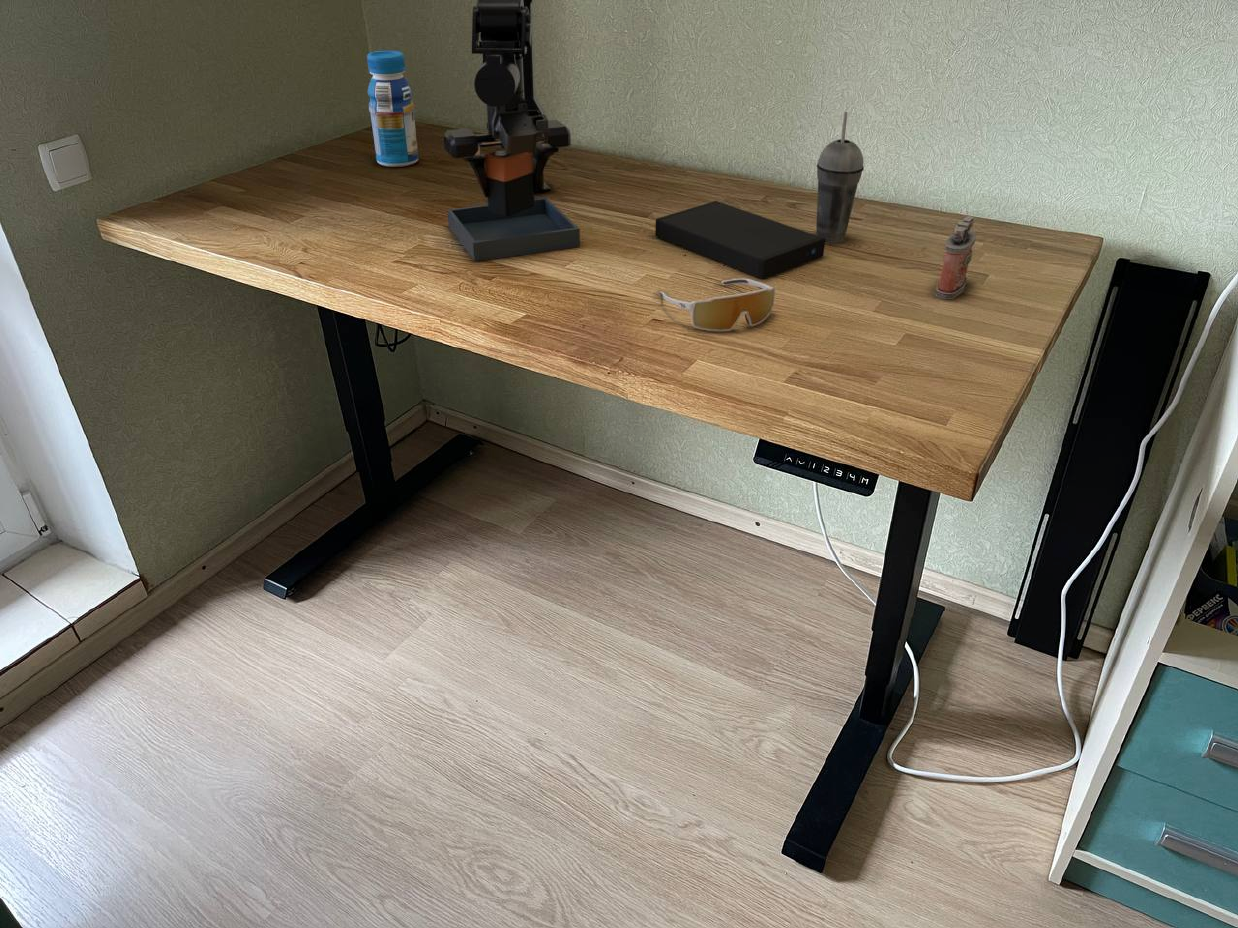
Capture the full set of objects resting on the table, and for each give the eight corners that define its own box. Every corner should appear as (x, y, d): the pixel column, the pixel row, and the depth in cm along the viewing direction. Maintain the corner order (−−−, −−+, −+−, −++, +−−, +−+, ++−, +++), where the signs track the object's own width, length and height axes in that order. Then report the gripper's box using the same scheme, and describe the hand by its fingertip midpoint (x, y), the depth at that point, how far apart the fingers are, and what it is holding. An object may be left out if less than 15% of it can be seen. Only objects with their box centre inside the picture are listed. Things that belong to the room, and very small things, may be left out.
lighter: (954, 300, 135) (969, 232, 129) (930, 295, 136) (944, 227, 131) (969, 282, 140) (985, 215, 135) (947, 277, 142) (960, 211, 136)
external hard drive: (716, 217, 163) (717, 200, 161) (823, 256, 148) (826, 238, 147) (655, 236, 155) (655, 219, 153) (762, 279, 140) (764, 260, 139)
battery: (536, 207, 153) (533, 143, 148) (507, 218, 149) (503, 153, 143) (515, 201, 155) (512, 138, 150) (487, 212, 151) (482, 148, 145)
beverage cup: (857, 234, 157) (877, 108, 146) (847, 249, 151) (866, 118, 140) (814, 227, 159) (830, 102, 148) (802, 241, 154) (817, 113, 143)
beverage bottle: (368, 161, 189) (353, 53, 178) (404, 153, 193) (392, 47, 182) (390, 171, 184) (377, 60, 172) (428, 162, 188) (417, 54, 177)
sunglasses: (697, 340, 123) (696, 302, 121) (647, 310, 136) (646, 276, 134) (790, 322, 128) (791, 285, 126) (734, 295, 141) (735, 261, 138)
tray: (448, 227, 158) (447, 209, 156) (547, 214, 163) (546, 197, 162) (474, 261, 145) (472, 243, 144) (580, 247, 151) (579, 228, 149)
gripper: (456, 108, 133) (466, 217, 142) (582, 97, 139) (583, 202, 147) (438, 91, 141) (448, 194, 150) (557, 81, 147) (560, 181, 156)
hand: (510, 193), depth 151 cm, fingers closed on battery, 7 cm apart
